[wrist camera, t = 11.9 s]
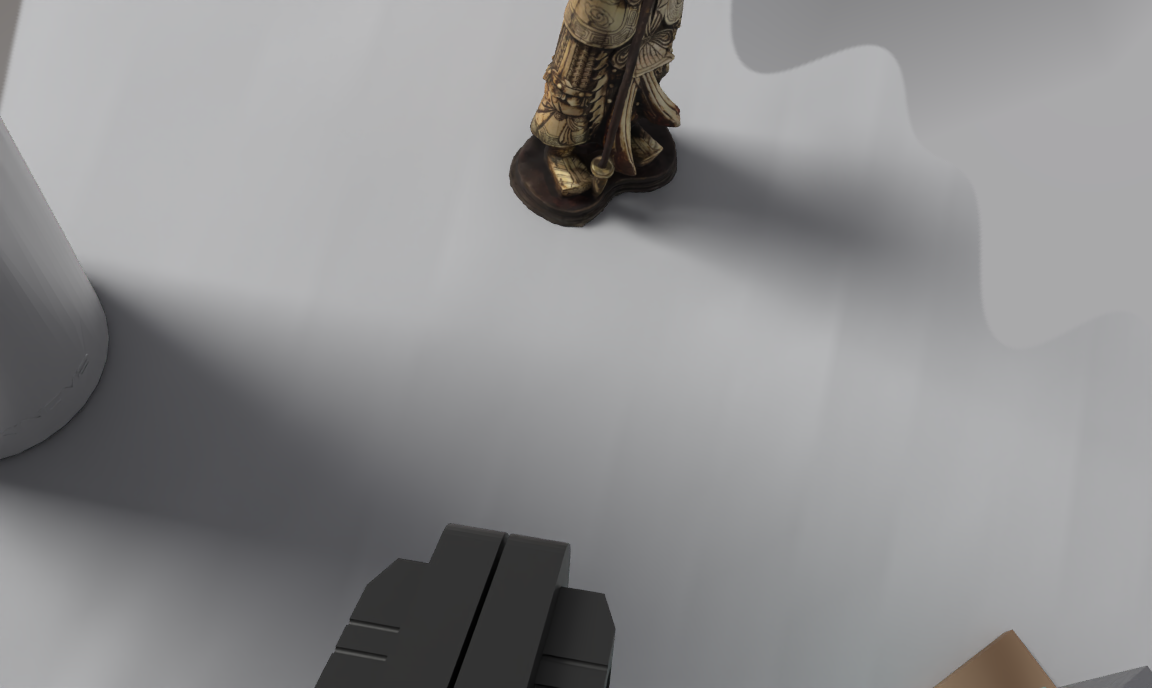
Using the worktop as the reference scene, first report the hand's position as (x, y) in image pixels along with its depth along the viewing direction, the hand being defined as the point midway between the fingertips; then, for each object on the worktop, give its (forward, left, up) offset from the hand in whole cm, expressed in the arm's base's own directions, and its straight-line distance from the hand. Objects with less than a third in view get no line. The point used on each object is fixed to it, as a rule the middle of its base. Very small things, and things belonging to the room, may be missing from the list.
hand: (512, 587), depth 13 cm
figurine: (-11, +24, -26) cm, 38 cm away
